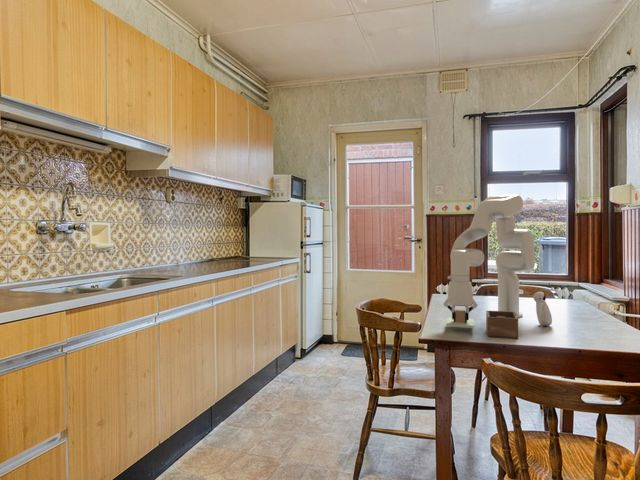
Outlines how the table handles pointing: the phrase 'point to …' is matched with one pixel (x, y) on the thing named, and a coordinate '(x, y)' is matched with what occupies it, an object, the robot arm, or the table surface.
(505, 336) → the box
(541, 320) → the toy
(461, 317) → the lid
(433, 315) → the table surface
